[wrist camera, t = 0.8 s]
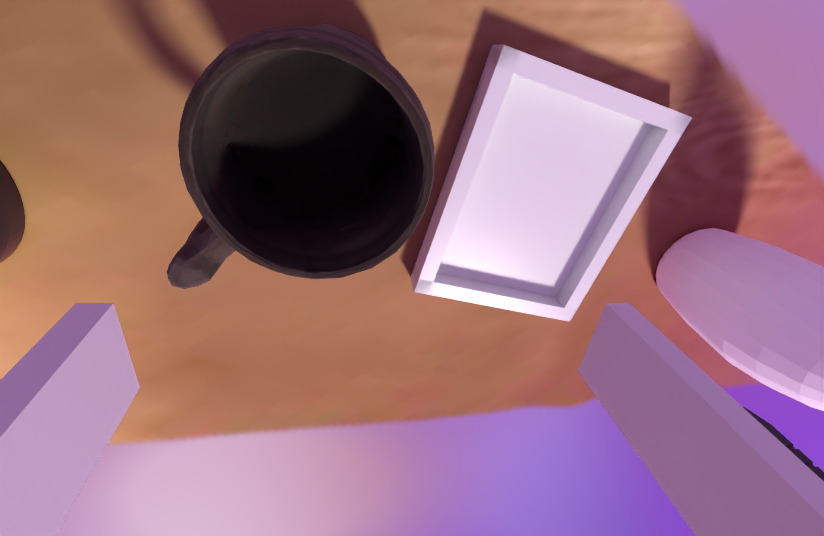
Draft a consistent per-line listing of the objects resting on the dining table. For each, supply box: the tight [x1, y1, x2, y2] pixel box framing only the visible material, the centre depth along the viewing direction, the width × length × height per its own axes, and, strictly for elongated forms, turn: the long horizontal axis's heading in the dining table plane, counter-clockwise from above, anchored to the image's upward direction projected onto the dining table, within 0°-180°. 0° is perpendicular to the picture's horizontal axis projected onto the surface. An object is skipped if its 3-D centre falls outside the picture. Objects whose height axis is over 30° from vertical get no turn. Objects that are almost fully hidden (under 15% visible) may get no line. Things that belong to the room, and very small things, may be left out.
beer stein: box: [167, 24, 434, 289], centre depth 24 cm, size 15×11×20 cm
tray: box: [411, 44, 692, 321], centre depth 37 cm, size 18×22×3 cm
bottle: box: [656, 228, 824, 411], centre depth 34 cm, size 11×11×25 cm
